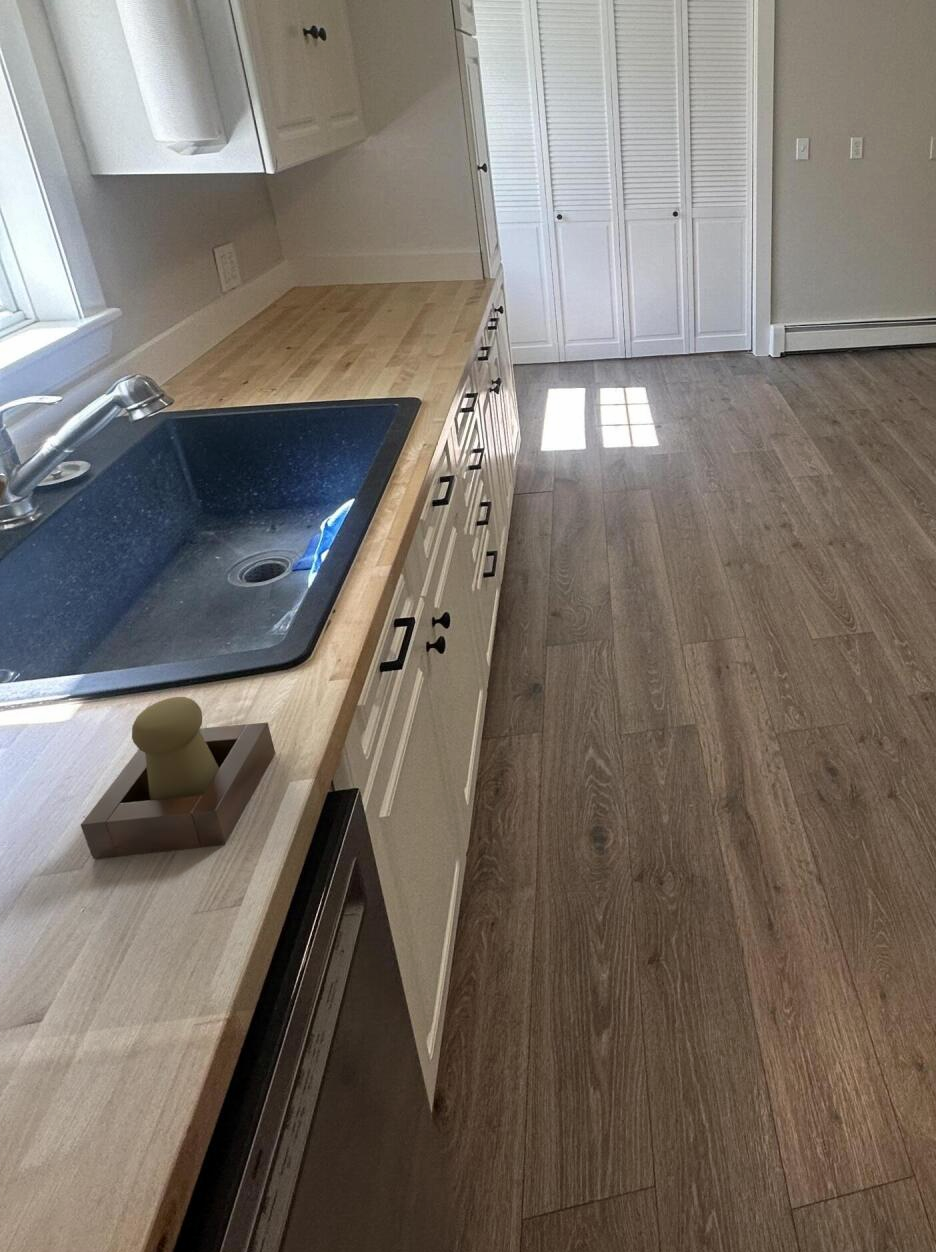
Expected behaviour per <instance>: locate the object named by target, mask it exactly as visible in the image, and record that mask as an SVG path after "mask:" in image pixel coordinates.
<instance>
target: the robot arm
mask: <svg viewBox="0 0 936 1252" xmlns="http://www.w3.org/2000/svg"><path fill="white" fill-rule="evenodd" d="M8 484H9V478H8V476H7V475H5V474H3V473H0V505H2V502H3V499H4V496H5V494H6V490H7V488H8Z"/></svg>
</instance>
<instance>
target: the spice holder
mask: <svg viewBox="0 0 936 1252" xmlns="http://www.w3.org/2000/svg"><path fill="white" fill-rule="evenodd" d="M199 730H200V732H201V734H202V736H203V738H204V740H205V742H206V744H207V746H208V748H209V749H210V751H211V753H212V755H213V757H214V759H215V761H216V763H217V765H218V767H219V770H218V772H217V773H216V775H215V776H214V778H213V780H212V781H211V783H210V784H209V786H208V788H207V789H206V791H205V792H204V794H203V796H202V795H200V796H190V797H180V798H170V799H160V800H151V801H150V793H149V783H148V774H147V765H146V756H145V752H142V751H140V750H139V749H138V750H137V751H136V752H135V753H134V755H133V756H132V757H131V759H130V760H129V761H128V762H127V764H126V765H125V766H124V768H123V769H122V770H121V772H120V773H119V774H118V775H117V776H116V779H114V781H113V782H112V783H111V784H110V786H109V787H108V788H107V790H106V791H105V792H104V794H103V795H102V796H101V798H100V799H99V800H98V801H97V803H96V804H95V805H94V806H93V808H92V809H91V810H90V812H89V813H88V815H87V816H86V817H85V818H84V820H83V821H82V822H81V823H80V828H81V831H82V833H83V837H84V838H85V841H86V844H87V847H88V849H89V852H90V855H91V857H92V859H93V860H97V859H98V860H99V859H106V858H115V857H124V856H125V857H126V856H133V855H142V854H143V855H144V854H152V853H160V852H162V853H163V852H169V851H170V852H171V851H180V850H189V849H197V848H202V847H204V848H205V847H213V846H214V847H215V846H222V845H226V844H227V841H228V840H229V839H230V837H231V834H232V833H233V832H234V829H235V828H236V825H237V824H238V822H239V820H240V818H241V816H242V815H243V813H244V811H245V810H246V807H247V806H248V803H249V802H250V801H251V798H252V797H253V796H254V793H255V791H256V789H257V787H258V785H259V784H260V782H261V781H262V778H263V777H264V775H265V773H266V771H267V769H268V768H269V766H270V764H271V762H272V760H273V759H274V757H275V755H276V749H275V746H274V741H273V737H272V734H271V730H270V726H269V722H257V723H249V724H248V723H245V724H244V723H243V724H233V725H224V726H223V725H222V726H211V727H200V729H199Z"/></svg>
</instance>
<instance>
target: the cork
mask: <svg viewBox="0 0 936 1252" xmlns="http://www.w3.org/2000/svg"><path fill="white" fill-rule="evenodd" d="M202 725H203V713H202V708H201V707H200V705H199V704H198V703H197V702H196V701H195V700H194V699H192V698H189V697H187V696H173V697H168V698H165V699H162V700H159V701H157V702H154V703H153V704H151V705H149V706H148V707H146V708H145V709H143V710H142V711H141V712H140V713H139V714H138V715H137V716H136V718H135V720H134V722H133V724H132V727H131V740H132V742H133V744H134V745H135V746H136V748H137V749H138V750H140V751H142V752H145V756H146V765H147V774H148V783H149V793H150V801H151V800H160V799H170V798H180V797H190V796H200V795H202V796H203V794H204V792H205V791H206V789H207V788H208V786H209V784H210V783H211V781H212V780H213V778H214V776H215V775H216V773H217V772H218V770H219V767H218V765H217V763H216V761H215V759H214V757H213V755H212V753H211V751H210V749H209V748H208V746H207V744H206V742H205V740H204V738H203V736H202V734H201V732H200V730H199V729H200V728H202Z"/></svg>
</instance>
